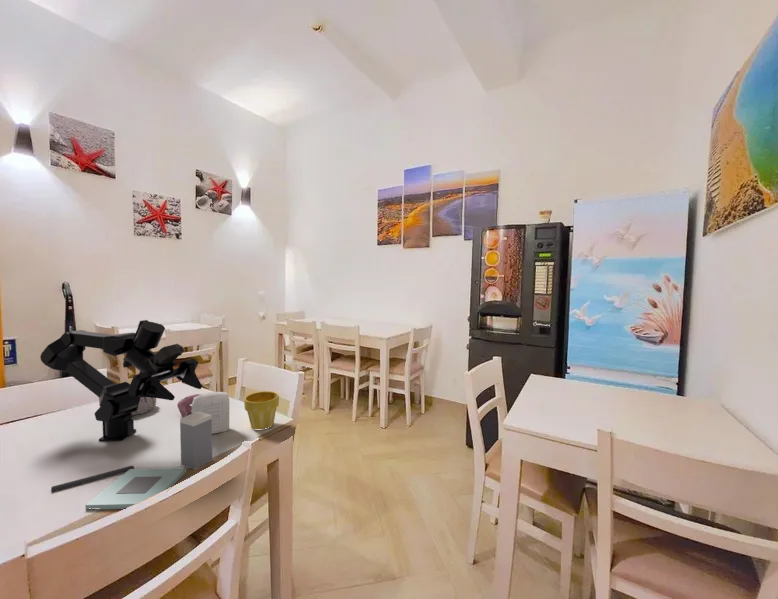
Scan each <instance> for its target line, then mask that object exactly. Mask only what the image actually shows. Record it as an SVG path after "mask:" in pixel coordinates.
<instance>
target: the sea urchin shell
mask: <svg viewBox="0 0 778 599" xmlns="http://www.w3.org/2000/svg"><path fill="white" fill-rule="evenodd" d="M156 405H157V398H150V397H142V398H141V397H140V402H139V405H138V409H137V411H136V412H132V417H133V416H136V415H143V414H145V413H147V412H149V411H150V410H152V409H154V408H155V406H156ZM142 413H143V414H142Z"/></svg>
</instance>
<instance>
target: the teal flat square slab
mask: <svg viewBox="0 0 778 599" xmlns="http://www.w3.org/2000/svg"><path fill="white" fill-rule="evenodd" d="M185 473H186V467H181V468H178V467H177V468H175V467H174V468H170V467H169V468H167V467H166V468H134V469H129V470H128V471H127V472H124V473H122V475H121V476H120V477H118V478H117V479H116V480H114V481H113V482H112V483H110V485H108V486H107V487H106V488H105V489H103V490H102V491H101V492H100V493H98V494H97V495H95V497H93V499H91V500H90V501H88V502H87V503H86V504H85V510H86V509H89V508H91V509H92V508H100V509H99V510H124V508H127V507H129V506H132V505H134V504H137V503H139V502H141V501H143V500H145V499H147V498H149V497H151V496H153V495H155V494H157V493H160V492H162V491H164V490H166V489H168V488H169V487H171V486H172V487H174V485H175V484H176V483H177V482H178V481H179V480H180V478H182V477H183V476H184V475H185ZM172 487H171V488H172Z"/></svg>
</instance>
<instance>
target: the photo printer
mask: <svg viewBox="0 0 778 599" xmlns="http://www.w3.org/2000/svg"><path fill="white" fill-rule="evenodd" d="M201 394H202V395H199V396H197V397H194V398H193V402H192V404H191V406H192V412H191V414H193V413H196V412H202V413H206V414H210V415H212V435H213V434H217V433H223V432H227V431H229V430H230V396H229V394H228V392H225V391H210V392H206V393H201Z"/></svg>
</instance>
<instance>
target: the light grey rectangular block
mask: <svg viewBox="0 0 778 599" xmlns="http://www.w3.org/2000/svg"><path fill="white" fill-rule="evenodd" d="M179 428H180V429H179V430H180V435H179V436H180V466H183V467H185V468H186V467H187V468H189V469H192V470H196V469H199V468H200V467H202V466H203V465H206V464H207V463H209V462H211V461H213V434H212V415H210V414H206V413H202V412H196V413H193V414H192V413H191V414H189V415H188V414H187V416H186V417H183V416H182V417H181V418H180V419H179Z"/></svg>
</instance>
